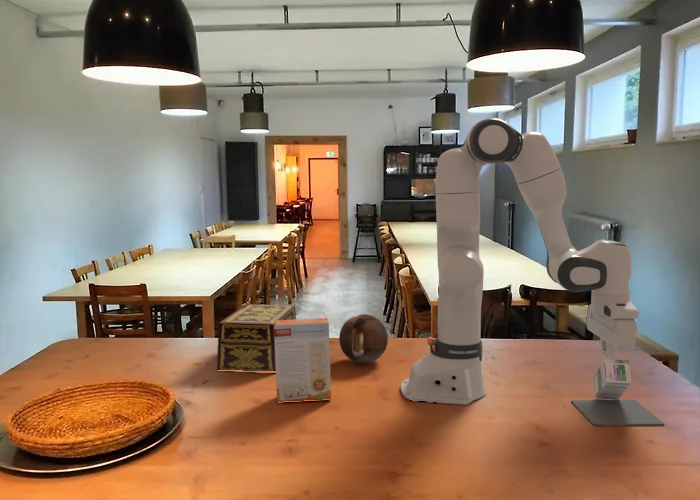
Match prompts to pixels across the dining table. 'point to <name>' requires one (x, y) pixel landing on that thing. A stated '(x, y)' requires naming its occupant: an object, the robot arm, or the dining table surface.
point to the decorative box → (250, 337)
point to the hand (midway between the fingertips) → (607, 357)
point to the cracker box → (302, 359)
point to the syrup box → (612, 379)
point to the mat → (616, 413)
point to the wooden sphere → (363, 338)
